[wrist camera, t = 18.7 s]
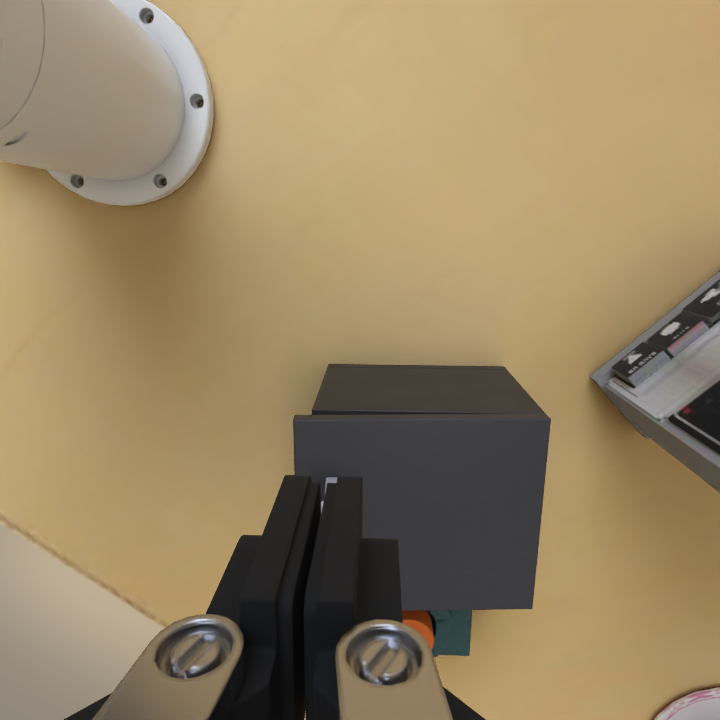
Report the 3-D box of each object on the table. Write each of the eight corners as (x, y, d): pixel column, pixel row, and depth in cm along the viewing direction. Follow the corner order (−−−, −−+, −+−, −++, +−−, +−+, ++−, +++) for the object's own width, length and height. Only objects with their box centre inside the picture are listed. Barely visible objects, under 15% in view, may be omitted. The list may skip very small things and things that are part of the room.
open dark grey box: (329, 508, 41) (314, 593, 32) (328, 364, 39) (311, 409, 29) (493, 512, 41) (528, 599, 31) (504, 366, 38) (546, 413, 29)
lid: (299, 603, 31) (290, 678, 26) (294, 414, 28) (283, 456, 23) (527, 599, 31) (563, 673, 26) (545, 413, 29) (589, 454, 23)
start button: (382, 643, 40) (382, 661, 38) (383, 602, 39) (383, 619, 37) (430, 644, 40) (433, 663, 38) (432, 603, 39) (435, 620, 37)
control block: (343, 631, 44) (339, 670, 40) (342, 545, 42) (339, 578, 38) (464, 635, 44) (473, 674, 40) (470, 548, 42) (479, 582, 38)
